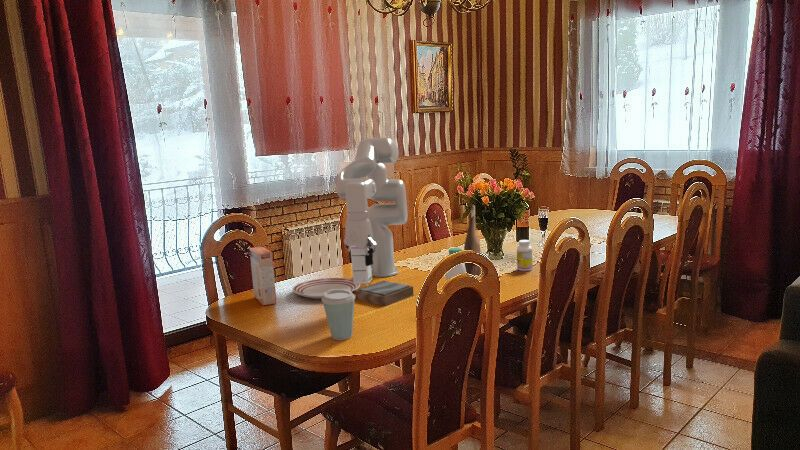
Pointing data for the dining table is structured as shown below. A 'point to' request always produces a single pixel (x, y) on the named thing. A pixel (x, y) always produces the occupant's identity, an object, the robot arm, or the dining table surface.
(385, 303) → the podium
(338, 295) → the disposable coffee cup
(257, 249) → the cracker box
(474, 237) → the grey vase
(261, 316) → the dining table surface
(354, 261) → the syrup box
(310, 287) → the dinner plate
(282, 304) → the dining table surface
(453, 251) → the milk bottle
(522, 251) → the supplement bottle
